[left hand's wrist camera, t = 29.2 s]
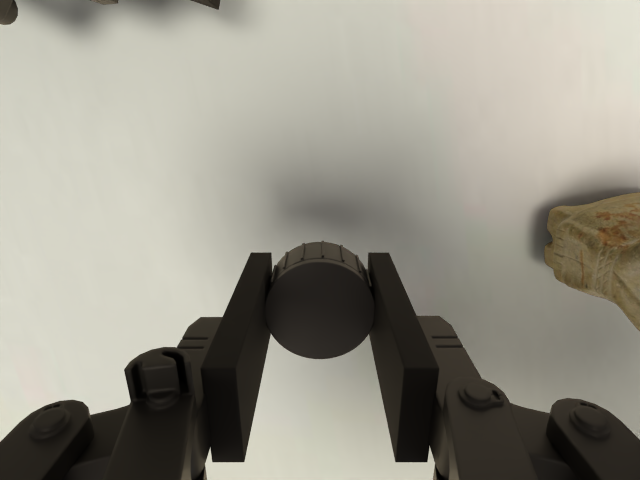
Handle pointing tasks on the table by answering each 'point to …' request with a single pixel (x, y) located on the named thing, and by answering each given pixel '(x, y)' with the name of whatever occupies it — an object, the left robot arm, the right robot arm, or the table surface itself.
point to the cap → (320, 301)
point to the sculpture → (599, 250)
